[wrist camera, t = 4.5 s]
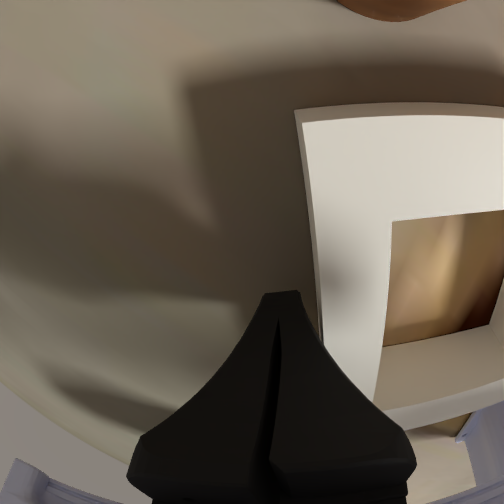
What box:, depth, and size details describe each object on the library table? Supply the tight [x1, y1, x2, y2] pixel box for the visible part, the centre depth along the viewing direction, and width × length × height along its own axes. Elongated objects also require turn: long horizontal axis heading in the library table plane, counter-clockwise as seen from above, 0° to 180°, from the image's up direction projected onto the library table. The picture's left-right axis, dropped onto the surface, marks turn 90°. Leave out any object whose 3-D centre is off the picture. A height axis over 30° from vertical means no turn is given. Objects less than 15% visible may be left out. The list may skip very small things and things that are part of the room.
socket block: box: [294, 102, 504, 431], centre depth 10 cm, size 13×11×4 cm
